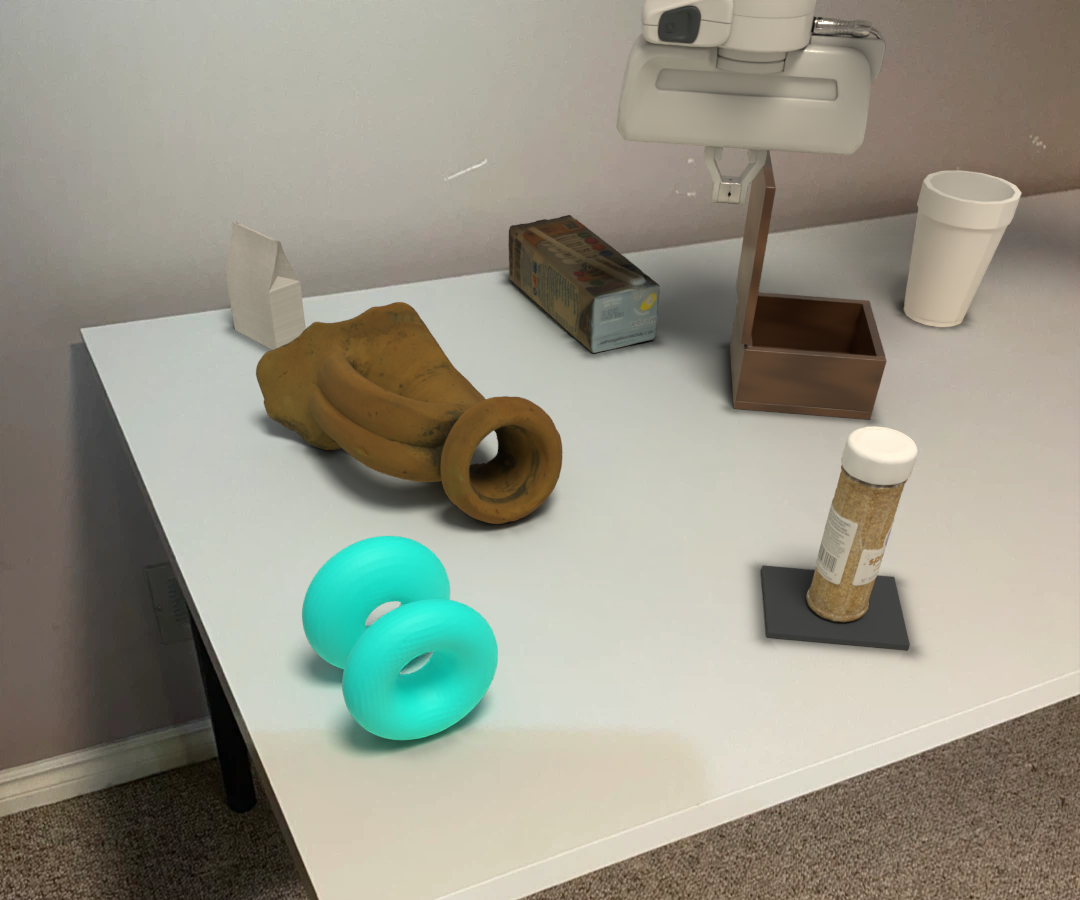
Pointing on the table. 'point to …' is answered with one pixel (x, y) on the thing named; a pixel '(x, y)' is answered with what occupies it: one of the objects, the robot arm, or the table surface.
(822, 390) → the walnut box
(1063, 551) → the table surface
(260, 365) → the brown looped sculpture
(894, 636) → the felt mat
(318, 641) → the donuts
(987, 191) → the foam cup
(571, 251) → the beverage carton
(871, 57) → the robot arm
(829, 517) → the spice jar
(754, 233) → the box lid
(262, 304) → the white gable top carton
